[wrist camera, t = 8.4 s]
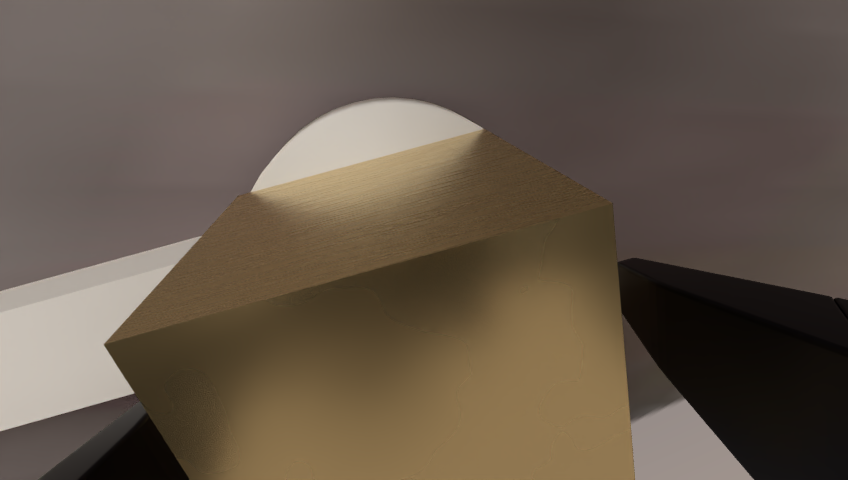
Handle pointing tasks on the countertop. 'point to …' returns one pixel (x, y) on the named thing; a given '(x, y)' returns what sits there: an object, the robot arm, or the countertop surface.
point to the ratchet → (170, 268)
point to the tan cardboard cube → (394, 327)
